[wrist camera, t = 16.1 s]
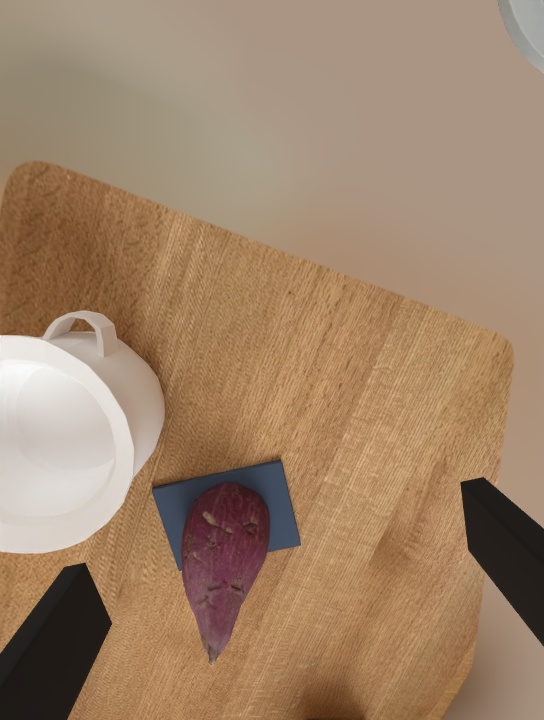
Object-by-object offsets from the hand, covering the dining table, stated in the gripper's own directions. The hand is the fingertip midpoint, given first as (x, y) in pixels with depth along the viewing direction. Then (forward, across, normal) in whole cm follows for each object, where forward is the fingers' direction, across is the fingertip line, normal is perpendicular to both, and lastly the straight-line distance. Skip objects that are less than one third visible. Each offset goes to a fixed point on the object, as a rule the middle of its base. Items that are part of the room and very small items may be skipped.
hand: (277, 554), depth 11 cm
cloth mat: (+25, -9, -17) cm, 31 cm away
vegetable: (+24, -9, -17) cm, 31 cm away
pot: (+25, -20, +1) cm, 32 cm away
